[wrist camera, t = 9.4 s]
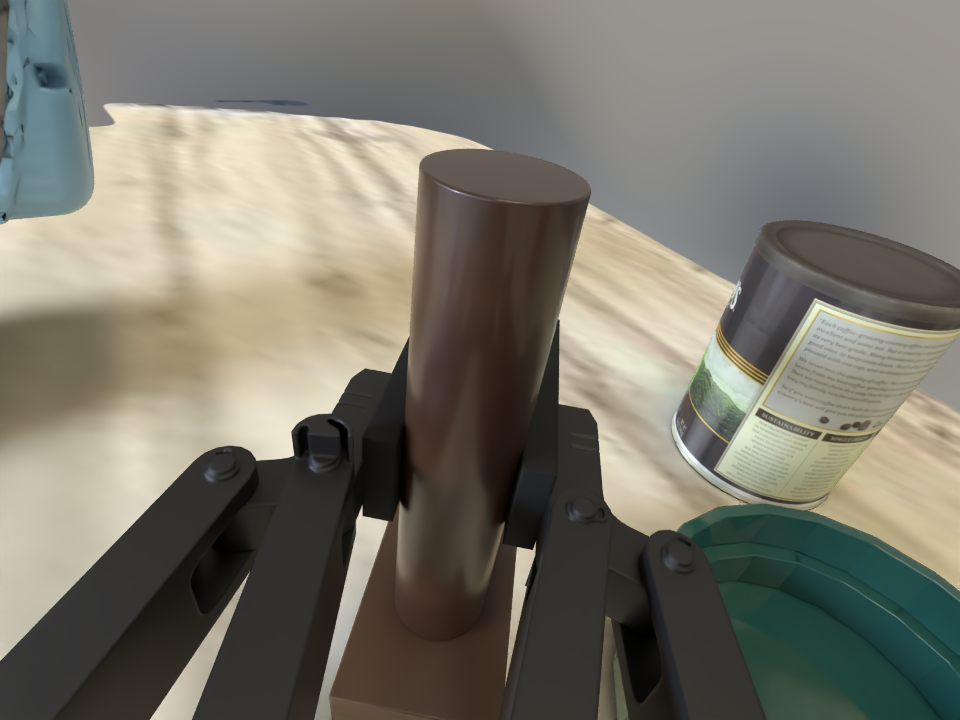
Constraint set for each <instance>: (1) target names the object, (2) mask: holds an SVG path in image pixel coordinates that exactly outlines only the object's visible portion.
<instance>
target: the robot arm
mask: <svg viewBox="0 0 960 720" xmlns="http://www.w3.org/2000/svg"><path fill="white" fill-rule="evenodd" d="M93 189H94V169H93V158H92V150H91V142H90V134H89V127H88V120H87V113H86V107H85V100H84V94H83V88H82V82H81V76H80V70H79V64H78V59H77V54H76V48H75V42H74V36H73V31H72V26H71V20H70V15H69V10H68V5H67V0H0V224H3V223H6V222H7V221H8V220H12V219H23V218H34V217H45V216H56V215H65V214H69V213H73V212H75V211H77V210H79V209H80V208H82V207H83V206H84V205H86V204H87V202H88V201H89V199H90V198H91V196H92V193H93ZM559 322H560V320H559V319H558V321H557V325H556V329H555V332H554V336H553V340H552V344H551V348H550V352H549V355H548V359H547V363H546V367H545V371H544V375H543V378H542V382H541V386H540V390H539V394H538V398H537V401H536V405H535V409H534V413H533V417H532V421H531V424H530V428H529V432H528V436H527V440H526V443H525V446H524V450H523V453H522V457H521V461H520V465H519V469H518V473H517V476H516V480H515V484H514V488H513V492H512V496H511V499H510V503H509V507H508V511H507V515H506V519H505V525H504V534H503V543H502V544H506V545H511V546H516V547H521V548H526V549H531V550H533V548H534V545H535V542H536V554H535V558H534V561H533V564H532V567H531V570H530V573H529V576H528V579H527V582H526V584H525V586H527V589H526V594H525V598H524V603H523V608H522V612H521V617H520V621H519V626H518V631H517V635H516V640H515V644H514V649H513V654H512V658H511V663H510V668H509V672H508V677H507V681H506V686H505V691H504V695H503V700H502V704H501V709H500V714H499V718H498V720H597V719H598V706H599V692H600V679H601V666H602V652H603V639H604V626H605V615H606V616H608V617H610V618H611V621H612V627H613V632H614V638H615V644H616V649H617V655H618V661H619V667H620V672H621V678H622V684H623V690H624V695H625V701H626V707H627V712H628V718H629V720H767V719H766V716H765V713H764V710H763V708H762V705H761V702H760V699H759V697H758V694H757V691H756V689H755V686H754V683H753V680H752V678H751V675H750V672H749V669H748V667H747V664H746V661H745V658H744V656H743V653H742V650H741V648H740V645H739V642H738V639H737V637H736V634H735V631H734V628H733V626H732V623H731V620H730V617H729V615H728V612H727V609H726V607H725V604H724V601H723V598H722V596H721V593H720V590H719V587H718V585H717V582H716V579H715V577H714V574H713V571H712V568H711V566H710V563H709V560H708V559H707V557H706V555H705V553H704V551H703V550H702V549H701V548H700V547H699V546H698V545H697V544H696V543H695V542H694V541H693V540H692V539H690V538H689V537H687V536H685V535H683V534H682V533H679V532H675V531H671V530H661V531H657V532H656V533H654V534H652V535H651V536H650V537H649V536H647V535H645V534H643V533H641V532H639V531H637V530H635V529H633V528H631V527H629V526H627V525H625V524H624V523H622V522H621V521H620V520H618V519H617V518H616V517H615V516H614V515H613V514H612V513H611V510H610V509H609V507H608V505H607V504H606V502H605V501H604V497H603V490H602V477H601V465H600V453H599V441H598V428H597V423H596V421H595V419H594V418H593V416H592V414H591V413H590V411H589V410H587V409H582V408H577V407H571V406H566V405H561V404H558V401H559ZM408 353H409V338H408V340H407V342H406V344H405V346H404V348H403V351H402V353H401V355H400V357H399V359H398V361H397V363H396V366H395V368H394V370H393V372H392V374H391V373H386V372H381V371H376V370H370V369H364V370H362V371H361V372H360V373H358V374H357V375H355V376H354V377H353V378H351V380H350V382H349V384H348V385H347V387H346V389H345V392H344V393H343V394H342V396H341V398H340V400H339V403H337V405H336V407H335V408H334V410H333V412H332V414H317V415H314V416H311V417H308V418H305V419H304V420H302V421H301V422H299V423H298V424H297V425H296V426H295V428H294V429H293V430H292V432H291V433H292V441H293V449H294V456H293V457H290V458H284V459H276V460H261V461H256V459H255V457H254V456H253V454H252V453H251V452H250V451H248V450H246V449H244V448H242V447H237V446H225V447H218V448H215V449H213V450H210V451H208V452H205V453H204V454H203V455H201V456H200V457H199V458H197V459H196V460H195V461H194V462H193V463H192V464H191V465H190V466H189V467H188V468H187V469H186V470H185V471H184V472H183V473H182V474H181V475H180V476H179V477H178V478H177V479H176V480H175V481H174V482H173V484H172V485H171V486H170V487H169V488H168V489H167V490H166V491H165V492H164V493H163V494H162V495H161V496H160V497H159V498H158V499H157V500H156V501H155V502H154V503H153V504H152V505H151V506H150V507H149V508H148V509H147V510H146V511H145V512H144V513H143V514H142V516H141V517H140V518H139V519H138V520H137V521H136V522H135V523H134V524H133V525H132V526H131V527H130V528H129V529H128V530H127V531H126V532H125V533H124V534H123V535H122V536H121V537H120V538H119V539H118V540H117V541H116V542H115V543H114V544H113V545H112V546H111V548H110V549H109V550H108V551H107V552H106V553H105V554H104V555H103V556H102V557H101V558H100V559H99V560H98V561H97V562H96V563H95V564H94V565H93V566H92V567H91V568H90V569H89V570H88V571H87V572H86V573H85V574H84V575H83V576H82V577H81V578H80V580H79V581H78V582H77V583H76V584H75V585H74V586H73V587H72V588H71V589H70V590H69V591H68V592H67V593H66V594H65V595H64V596H63V597H62V598H61V599H60V600H59V601H58V602H57V603H56V604H55V605H54V606H53V607H52V608H51V609H50V610H49V612H48V613H47V614H46V615H45V616H44V617H43V618H42V619H41V620H40V621H39V622H38V623H37V624H36V625H35V626H34V627H33V628H32V629H31V630H30V631H29V632H28V633H27V634H26V635H25V636H24V637H23V638H22V639H21V640H20V641H19V642H18V644H17V645H16V646H15V647H14V648H13V649H12V650H11V651H10V652H9V653H8V654H7V655H6V656H5V657H4V658H3V659H2V660H1V661H0V720H150V719H151V717H152V716H153V714H154V713H155V711H156V710H157V708H158V707H159V705H160V704H161V702H162V701H163V699H164V698H165V696H166V695H167V693H168V692H169V690H170V689H171V687H172V686H173V685H174V683H175V682H176V680H177V679H178V677H179V676H180V674H181V673H182V671H183V670H184V668H185V667H186V665H187V664H188V662H189V661H190V659H191V658H192V656H193V655H194V653H195V652H196V650H197V649H198V648H199V646H200V645H201V643H202V642H203V640H204V639H205V637H206V636H207V634H208V633H209V631H210V630H211V628H212V627H213V625H214V624H215V622H216V621H217V619H218V618H219V616H220V615H221V613H222V612H223V611H224V609H225V608H226V606H227V605H228V603H229V602H230V600H231V599H232V597H233V596H234V594H235V593H236V591H237V590H238V588H239V587H240V585H241V584H242V582H243V581H244V579H245V578H246V576H247V575H248V574H249V576H248V578H247V581H246V584H245V586H244V589H243V591H242V594H241V596H240V599H239V601H238V604H237V606H236V609H235V612H234V614H233V617H232V619H231V622H230V624H229V627H228V629H227V632H226V634H225V637H224V640H223V642H222V645H221V647H220V650H219V652H218V655H217V657H216V660H215V663H214V665H213V668H212V670H211V673H210V675H209V678H208V680H207V683H206V685H205V688H204V691H203V693H202V696H201V698H200V701H199V703H198V706H197V708H196V711H195V713H194V716H193V719H192V720H314V718H315V713H316V709H317V704H318V700H319V695H320V691H321V687H322V682H323V678H324V673H325V669H326V664H327V660H328V655H329V651H330V647H331V642H332V638H333V633H334V629H335V624H336V620H337V615H338V611H339V606H340V602H341V598H342V593H343V589H344V584H345V580H346V575H347V571H348V566H349V562H350V558H351V553H352V549H353V544H354V540H355V535H356V519H357V517H358V514H359V512H360V509H361V507H362V504H363V516H366V517H371V518H376V519H381V520H386V521H391V522H393V519H394V516H395V513H396V510H397V507H398V504H399V501H400V490H401V473H402V456H403V439H404V421H405V404H406V387H407V370H408ZM249 572H250V573H249Z"/></svg>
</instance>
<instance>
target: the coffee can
mask: <svg viewBox="0 0 960 720" xmlns="http://www.w3.org/2000/svg"><path fill="white" fill-rule="evenodd" d="M959 335H960V270H959V269H957V268H955V267H954V266H952V265H950V264H948V263H946V262H944V261H942V260H940V259H938V258H936V257H933V256H931V255H929V254H927V253H925V252H922V251H920V250H917V249H914V248H912V247H909V246H907V245H904V244H901V243H898V242H895V241H892V240H889V239H887V238H883V237H880V236H877V235H873V234H870V233H866V232H862V231H858V230H854V229H850V228H845V227H841V226H836V225H831V224H826V223H819V222H811V221H798V220H789V221H788V220H786V221H776V222H771V223H768V224H767V225H764V226H763V227H762V228H761V230H760V232H759V234H758V237H757V239H756V245H755V247H754V250H753V252H752V254H751V256H750V258H749V260H748V262H747V264H746V266H745V269H744V271H743V273H742V275H741V277H740V280H739V282H738V283H737V285H736V288H735V290H734V292H733V294H732V296H731V298H730V300H729V302H728V305H727V306H726V309H725V311H724V313H723V315H722V317H721V320H720V322H719V324H718V326H717V328H716V330H715V332H714V334H713V336H712V339H711V341H710V343H709V345H708V347H707V349H706V351H705V353H704V355H703V358H702V360H701V362H700V364H699V366H698V368H697V370H696V372H695V374H694V376H693V378H692V381H691V383H690V385H689V387H688V389H687V391H686V393H685V395H684V397H683V399H682V401H681V404H680V406H679V407H678V409H677V410H676V411H675V413H674V415H673V418H672V425H671V428H672V435H673V438H674V441H675V443H676V445H677V447H678V449H679V450H680V452H681V454H682V455H683V457H684V458H685V459H686V460H687V461H688V463H689V464H690V465H691V466H692V467H693V468H694V469H695V470H696V471H697V472H698V473H700V474H701V475H702V476H703V477H704V478H705V479H707V480H708V481H709V482H711V483H712V484H714V485H715V486H716V487H718V488H720V489H722V490H723V491H725V492H726V493H728V494H730V495H732V496H734V497H736V498H738V499H740V500H743V501H745V502H748V503H751V504H761V503H763V504H764V503H766V504H772V505H777V506H782V507H787V508H793V509H798V510H803V511H804V510H809V509H812V508H814V507H816V506H818V505H820V504H821V503H822V502H823V501H825V500H826V499H827V497H828V495H829V493H830V491H831V490H832V488H833V487H834V486H835V485H836V483H837V482H838V481H839V480H840V478H841V477H842V476H843V475H844V474H845V472H846V471H847V470H848V469H849V468H850V467H851V465H852V464H853V463H854V462H855V460H856V459H857V458H858V457H859V456H860V454H861V453H862V452H863V451H864V450H865V448H866V447H867V446H868V445H869V444H870V442H871V441H872V440H873V439H874V437H875V436H876V435H877V434H878V433H879V432H880V430H881V429H882V428H883V427H884V426H885V424H886V423H887V422H888V421H889V419H890V418H891V417H892V416H893V414H894V413H895V412H896V411H897V410H898V408H899V407H900V406H901V405H902V404H903V402H904V401H905V400H906V399H907V398H908V396H909V395H910V394H911V393H912V391H913V390H914V389H915V388H916V387H917V385H918V384H919V383H920V382H921V381H922V379H923V378H924V377H925V376H926V374H928V372H929V371H930V370H931V369H932V367H933V366H934V365H935V364H936V363H937V361H938V360H939V359H940V357H941V356H942V355H943V354H944V353H945V352H946V350H947V349H948V348H949V347H950V346H951V344H952V343H953V342H954V341H955V339H956V338H957V337H958V336H959Z"/></svg>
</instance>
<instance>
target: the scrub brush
mask: <svg viewBox="0 0 960 720" xmlns="http://www.w3.org/2000/svg"><path fill="white" fill-rule="evenodd" d="M590 194H591V189H590V186H589V184H588V183H587V181H586V180H584V179H583V178H582V177H581V176H579V175H577V174H576V173H574V172H572V171H571V170H569V169H566V168H564V167H562V166H559V165H557V164H554V163H551V162H548V161H545V160H542V159H538V158H534V157H530V156H525V155H521V154H516V153H510V152H503V151H496V150H485V149H453V150H445V151H440V152H435V153H432V154H430V155H428V156H426V157H424V158H423V159H422V161H421V163H420V166H419V181H418V198H417V215H416V232H415V250H414V267H413V284H412V301H411V318H410V335H409V353H408V370H407V387H406V404H405V421H404V439H403V456H402V473H401V490H400V501H399V504H398V507H397V510H396V513H395V516H394V519H393V522H391V521H388V524H387V527H386V530H385V533H384V536H383V539H382V542H381V545H380V548H379V551H378V553H377V556H376V559H375V562H374V565H373V568H372V571H371V574H370V577H369V580H368V583H367V586H366V589H365V592H364V595H363V598H362V601H361V604H360V606H359V609H358V612H357V615H356V618H355V621H354V624H353V627H352V630H351V633H350V636H349V639H348V642H347V645H346V648H345V651H344V654H343V657H342V660H341V662H340V665H339V668H338V671H337V674H336V677H335V680H334V683H333V686H332V689H331V692H330V695H329V699H330V708H331V717H332V720H498V718H499V714H500V709H501V704H502V700H503V695H504V691H505V679H506V668H507V656H508V644H509V632H510V621H511V609H512V597H513V585H514V574H515V562H516V550H517V547H516V546H511V545H506V544H502V543H503V534H504V525H505V519H506V515H507V511H508V507H509V503H510V499H511V496H512V492H513V488H514V484H515V480H516V476H517V473H518V469H519V465H520V461H521V457H522V453H523V450H524V446H525V443H526V440H527V436H528V432H529V428H530V424H531V421H532V417H533V413H534V409H535V405H536V401H537V398H538V394H539V390H540V386H541V382H542V378H543V375H544V371H545V367H546V363H547V359H548V355H549V352H550V348H551V344H552V340H553V336H554V332H555V329H556V325H557V321H558V317H559V313H560V310H561V306H562V302H563V298H564V294H565V290H566V287H567V283H568V279H569V275H570V271H571V267H572V264H573V260H574V256H575V252H576V248H577V244H578V241H579V237H580V233H581V229H582V225H583V221H584V218H585V214H586V210H587V206H588V202H589V198H590Z"/></svg>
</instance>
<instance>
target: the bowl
mask: <svg viewBox="0 0 960 720" xmlns="http://www.w3.org/2000/svg"><path fill="white" fill-rule="evenodd" d="M677 532H679V533H682V534H683V535H685V536H687V537H689V538H690V539H692V540H693V541H694V542H695V543H696V544H697V545H698V546H699V547H700V548H701V549H702V550H703V551H704V553H705V555H706V557H707V559H708V560H709V563H710V566H711V568H712V571H713V574H714V577H715V579H716V582H717V585H718V587H719V590H720V593H721V596H722V598H723V601H724V604H725V607H726V609H727V612H728V615H729V617H730V620H731V623H732V626H733V628H734V631H735V634H736V637H737V639H738V642H739V645H740V648H741V650H742V653H743V656H744V658H745V661H746V664H747V667H748V669H749V672H750V675H751V678H752V680H753V683H754V686H755V689H756V691H757V694H758V697H759V699H760V702H761V705H762V708H763V710H764V713H765V716H766V719H767V720H960V591H959V590H958V589H956V588H955V587H954V586H952V585H951V584H950V583H949V582H947V581H946V580H945V579H943V578H942V577H941V576H940V575H938V574H936V572H934V571H932V570H931V569H929V568H927V567H925V566H924V565H922V564H920V563H919V562H917V561H915V560H914V559H912V558H910V557H908V556H907V555H905V554H903V553H902V552H900V551H898V550H897V549H895V548H893V547H892V546H890V545H888V544H886V543H885V542H883V541H881V540H880V539H878V538H876V537H874V536H872V535H870V534H867V533H865V532H862V531H860V530H857V529H855V528H852V527H850V526H847V525H845V524H842V523H840V522H837V521H835V520H832V519H830V518H827V517H825V516H822V515H820V514H816V513H814V512H808V511H803V510H798V509H793V508H787V507H782V506H777V505H772V504H766V503H764V504H763V503H761V504H748V505H735V506H722V507H717V508H715V509H713V510H711V511H709V512H707V513H705V514H703V515H701V516H699V517H697V518H695V519H693V520H690V521H688V522H686V523H684V524H683V525H681V526H680V528H679V529H678V530H677ZM613 669H614V681H615V694H616V707H617V720H629V718H628V712H627V707H626V701H625V695H624V690H623V684H622V678H621V672H620V667H619V661H618V655H617V649H616V652H615V656H614V663H613Z"/></svg>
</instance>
